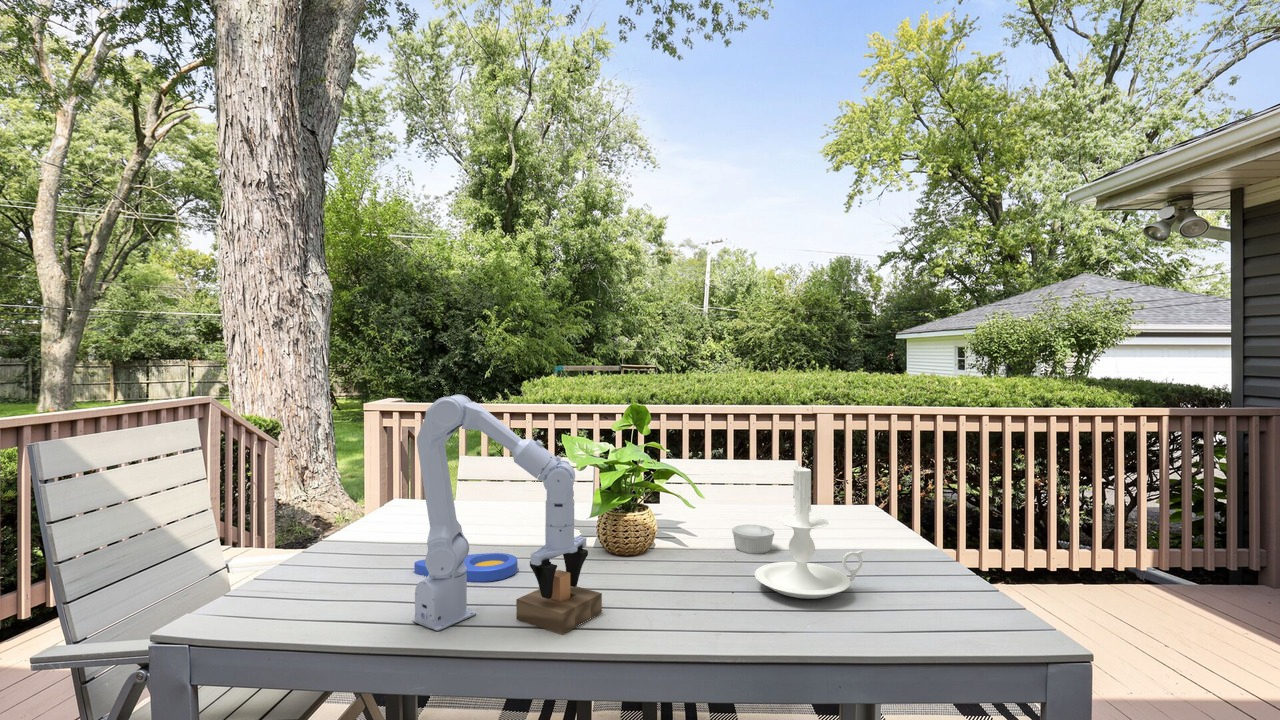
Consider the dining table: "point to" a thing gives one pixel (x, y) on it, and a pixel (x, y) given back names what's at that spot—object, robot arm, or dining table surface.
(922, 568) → the dining table surface
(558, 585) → the peg
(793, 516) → the candlestick
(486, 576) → the location marker
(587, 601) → the socket block
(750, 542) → the ramekin
